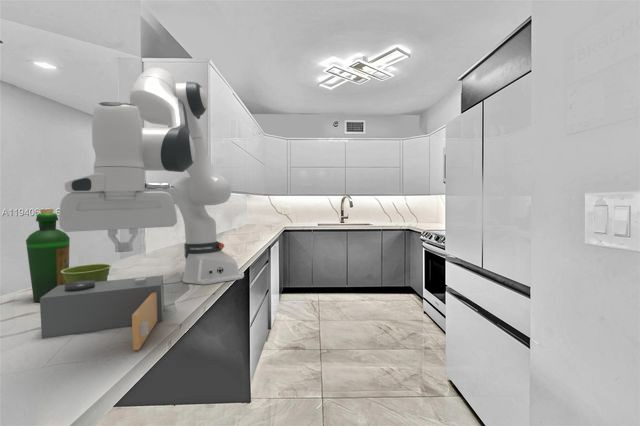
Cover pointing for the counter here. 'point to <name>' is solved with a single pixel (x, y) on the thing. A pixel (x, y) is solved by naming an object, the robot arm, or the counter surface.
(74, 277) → the plant pot
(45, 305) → the grey cabinet
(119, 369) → the counter surface
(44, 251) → the bottle
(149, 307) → the side door
